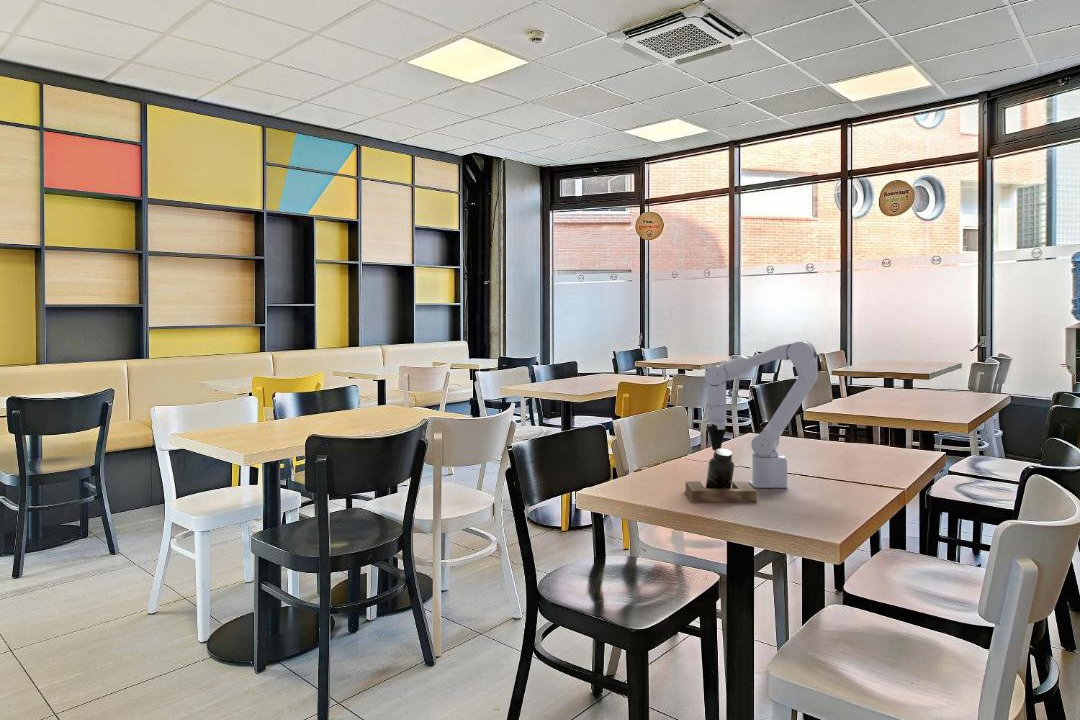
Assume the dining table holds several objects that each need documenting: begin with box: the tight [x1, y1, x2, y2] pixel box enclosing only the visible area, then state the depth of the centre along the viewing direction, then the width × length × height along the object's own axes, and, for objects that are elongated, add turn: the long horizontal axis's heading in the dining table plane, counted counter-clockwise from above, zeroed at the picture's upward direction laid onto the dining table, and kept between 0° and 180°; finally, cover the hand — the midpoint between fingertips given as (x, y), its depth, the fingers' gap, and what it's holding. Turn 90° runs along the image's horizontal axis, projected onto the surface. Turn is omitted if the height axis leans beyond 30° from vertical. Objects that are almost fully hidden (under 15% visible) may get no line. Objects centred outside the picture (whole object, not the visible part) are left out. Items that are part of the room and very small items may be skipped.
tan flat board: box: [685, 480, 758, 503], centre depth 192 cm, size 17×12×3 cm
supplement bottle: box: [705, 447, 735, 489], centre depth 193 cm, size 7×7×12 cm
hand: (716, 449), depth 211 cm, fingers closed
